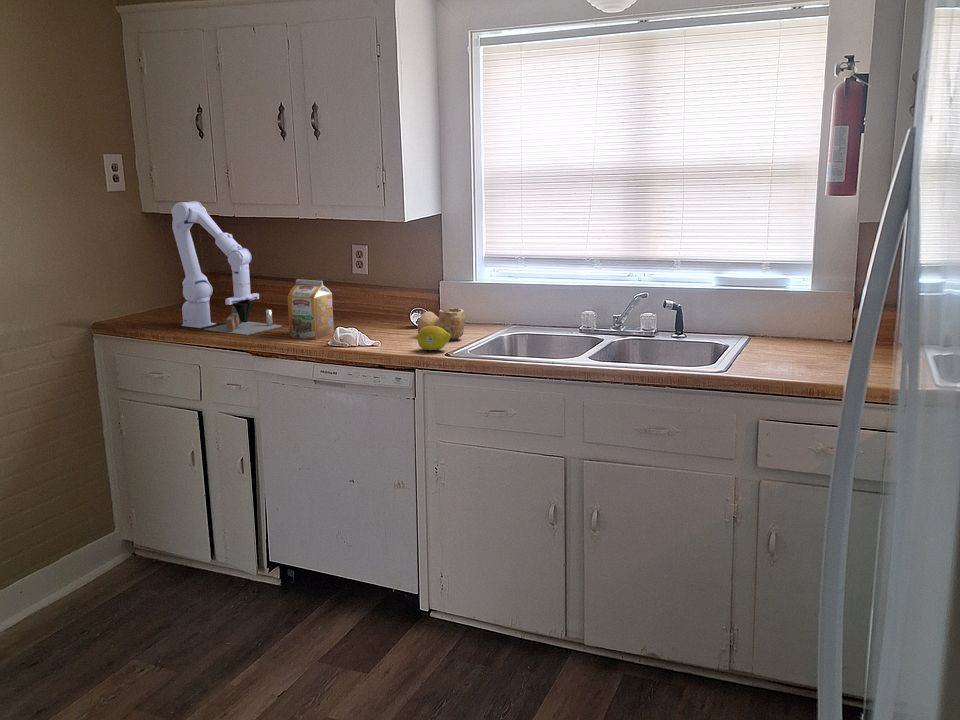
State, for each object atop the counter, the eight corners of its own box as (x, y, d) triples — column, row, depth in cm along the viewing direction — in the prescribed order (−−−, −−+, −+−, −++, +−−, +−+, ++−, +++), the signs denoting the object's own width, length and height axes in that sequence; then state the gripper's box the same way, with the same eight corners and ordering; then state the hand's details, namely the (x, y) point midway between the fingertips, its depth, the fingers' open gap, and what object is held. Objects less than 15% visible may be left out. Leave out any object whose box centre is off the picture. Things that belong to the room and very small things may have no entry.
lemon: (411, 352, 272) (411, 326, 270) (423, 347, 279) (422, 322, 277) (443, 355, 267) (442, 329, 265) (454, 349, 274) (453, 324, 272)
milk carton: (333, 334, 299) (331, 279, 295) (316, 339, 290) (313, 283, 286) (308, 331, 304) (305, 277, 299) (289, 337, 294) (286, 281, 290)
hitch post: (265, 326, 313) (264, 310, 311) (269, 325, 314) (268, 309, 313) (270, 327, 312) (269, 310, 310) (273, 326, 313) (272, 309, 312)
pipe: (431, 333, 300) (431, 304, 298) (470, 338, 291) (470, 309, 289) (415, 338, 293) (415, 308, 290) (455, 343, 284) (455, 313, 282)
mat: (204, 329, 307) (204, 329, 307) (240, 321, 322) (240, 320, 322) (246, 335, 298) (246, 334, 298) (282, 326, 313) (282, 325, 313)
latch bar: (233, 322, 318) (232, 305, 317) (242, 321, 318) (241, 305, 317) (224, 331, 302) (223, 314, 301) (234, 330, 302) (233, 313, 301)
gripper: (234, 287, 297) (237, 326, 300) (264, 281, 310) (266, 319, 313) (219, 285, 301) (222, 324, 304) (249, 280, 313) (252, 317, 316)
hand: (244, 322), depth 308 cm, fingers closed
